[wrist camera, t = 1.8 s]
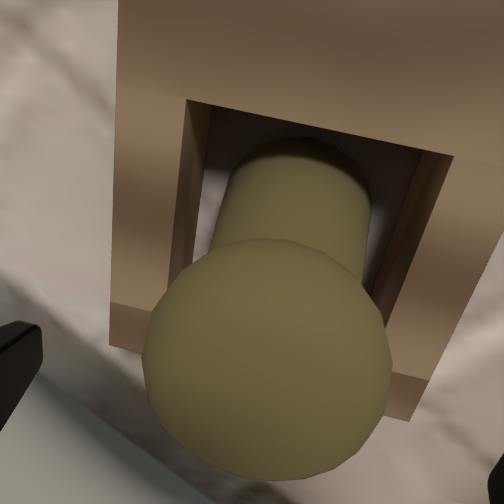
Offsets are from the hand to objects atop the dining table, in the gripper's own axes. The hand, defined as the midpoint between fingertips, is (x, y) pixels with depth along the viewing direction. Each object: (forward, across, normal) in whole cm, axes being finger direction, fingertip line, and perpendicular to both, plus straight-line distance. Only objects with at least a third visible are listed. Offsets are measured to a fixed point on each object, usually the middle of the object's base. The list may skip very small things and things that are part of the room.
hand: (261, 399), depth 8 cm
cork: (+11, 0, 0) cm, 11 cm away
